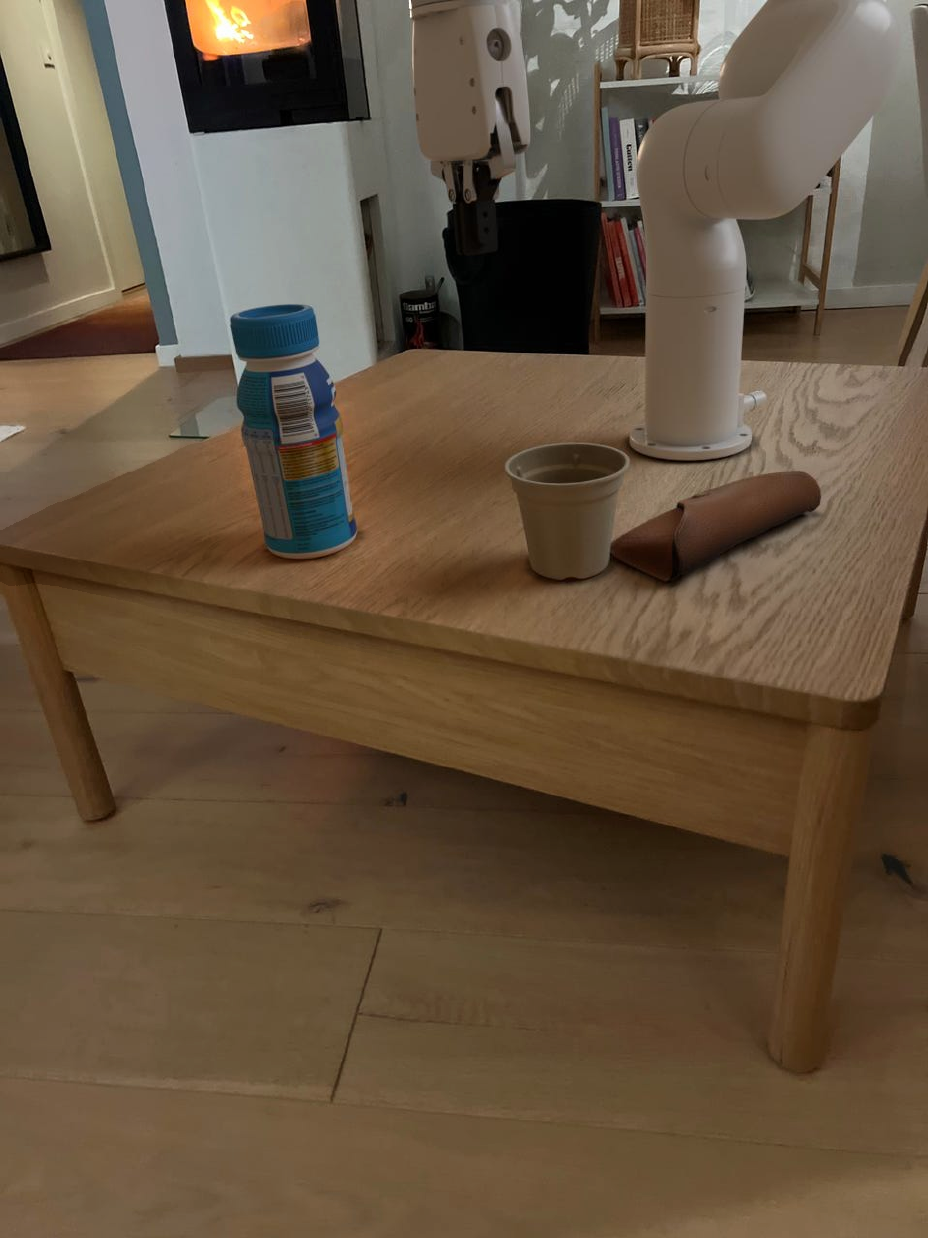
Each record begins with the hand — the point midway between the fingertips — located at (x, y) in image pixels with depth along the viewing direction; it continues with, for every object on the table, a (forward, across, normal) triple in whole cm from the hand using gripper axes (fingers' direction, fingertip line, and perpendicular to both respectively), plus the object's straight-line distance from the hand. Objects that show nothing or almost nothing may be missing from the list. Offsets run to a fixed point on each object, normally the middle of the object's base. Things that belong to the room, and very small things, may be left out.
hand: (477, 252), depth 76 cm
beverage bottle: (+22, +3, +18) cm, 29 cm away
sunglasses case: (+22, -21, -8) cm, 31 cm away
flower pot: (+22, -16, +4) cm, 28 cm away
